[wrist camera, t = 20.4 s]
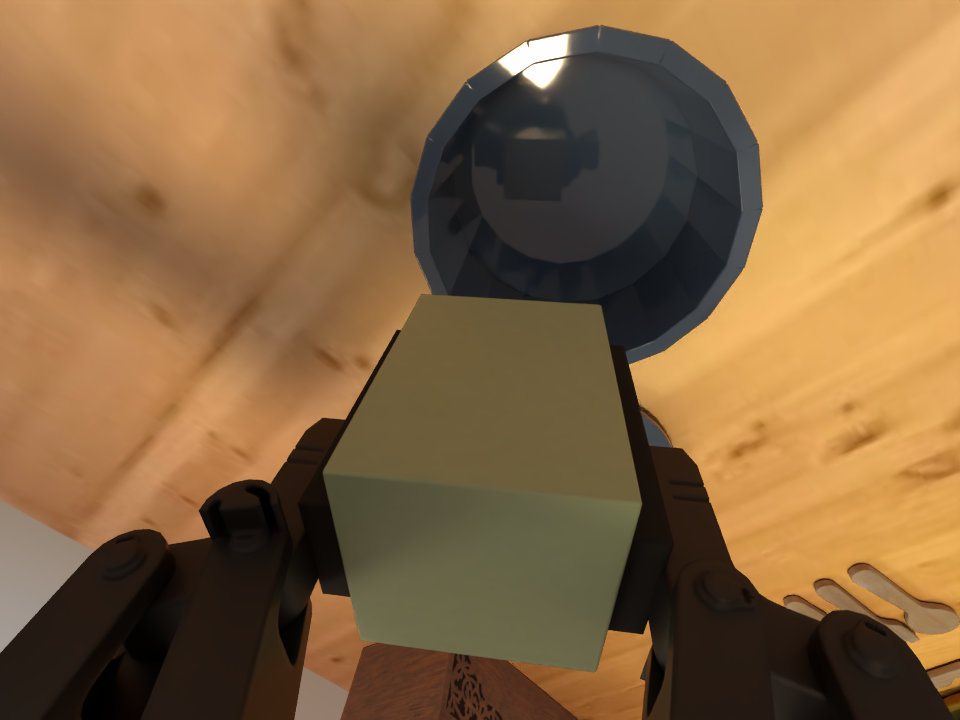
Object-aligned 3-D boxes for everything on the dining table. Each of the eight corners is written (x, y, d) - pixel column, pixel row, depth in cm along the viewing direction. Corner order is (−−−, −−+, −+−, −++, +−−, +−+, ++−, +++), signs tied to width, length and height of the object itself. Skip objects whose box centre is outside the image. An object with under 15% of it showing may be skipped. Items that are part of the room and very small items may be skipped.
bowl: (447, 304, 32) (422, 365, 25) (437, 35, 24) (397, 26, 18) (675, 317, 30) (708, 385, 24) (744, 33, 22) (820, 23, 16)
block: (428, 430, 16) (359, 641, 10) (420, 292, 14) (320, 471, 8) (579, 443, 16) (597, 674, 10) (601, 304, 13) (643, 504, 7)
